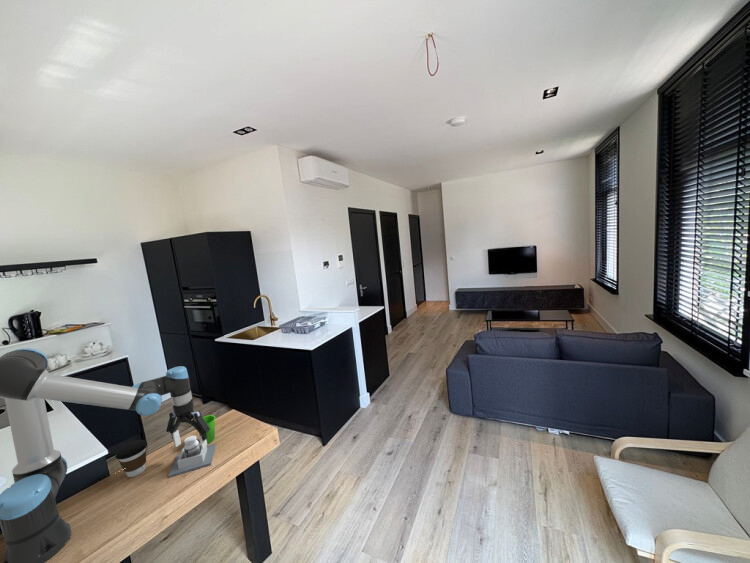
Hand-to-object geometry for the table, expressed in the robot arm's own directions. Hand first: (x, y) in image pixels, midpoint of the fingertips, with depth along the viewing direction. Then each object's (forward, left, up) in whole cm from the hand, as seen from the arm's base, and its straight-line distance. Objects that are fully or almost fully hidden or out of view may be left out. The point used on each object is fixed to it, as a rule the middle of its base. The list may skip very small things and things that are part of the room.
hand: (191, 446), depth 134 cm
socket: (0, 0, -7) cm, 7 cm away
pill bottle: (0, 0, -6) cm, 6 cm away
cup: (+4, +13, -8) cm, 16 cm away
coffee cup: (-23, +4, -8) cm, 24 cm away
